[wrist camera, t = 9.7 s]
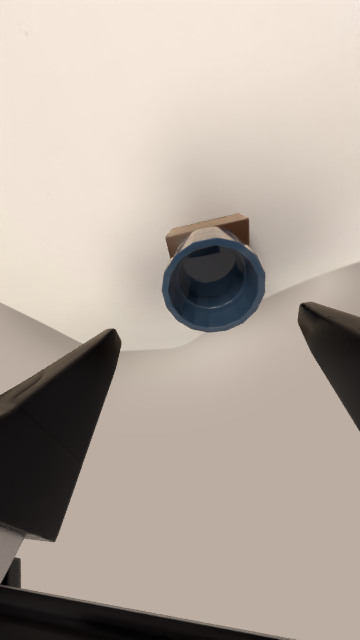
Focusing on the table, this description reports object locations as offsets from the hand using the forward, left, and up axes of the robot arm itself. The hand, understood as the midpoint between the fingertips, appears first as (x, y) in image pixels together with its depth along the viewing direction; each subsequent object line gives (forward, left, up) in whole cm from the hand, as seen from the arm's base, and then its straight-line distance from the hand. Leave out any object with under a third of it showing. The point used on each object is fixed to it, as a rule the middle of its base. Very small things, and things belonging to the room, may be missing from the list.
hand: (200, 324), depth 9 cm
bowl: (0, -1, -7) cm, 7 cm away
